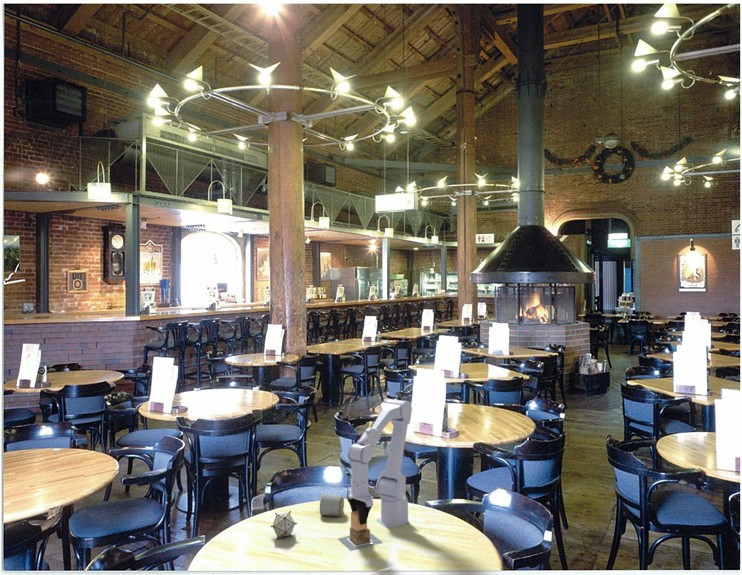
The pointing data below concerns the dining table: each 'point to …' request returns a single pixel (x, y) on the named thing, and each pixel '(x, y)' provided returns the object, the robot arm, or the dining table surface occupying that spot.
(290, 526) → the game die
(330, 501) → the grey cylinder
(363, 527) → the terracotta block
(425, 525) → the dining table surface
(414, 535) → the dining table surface
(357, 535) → the walnut block
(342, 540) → the mat
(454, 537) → the dining table surface
